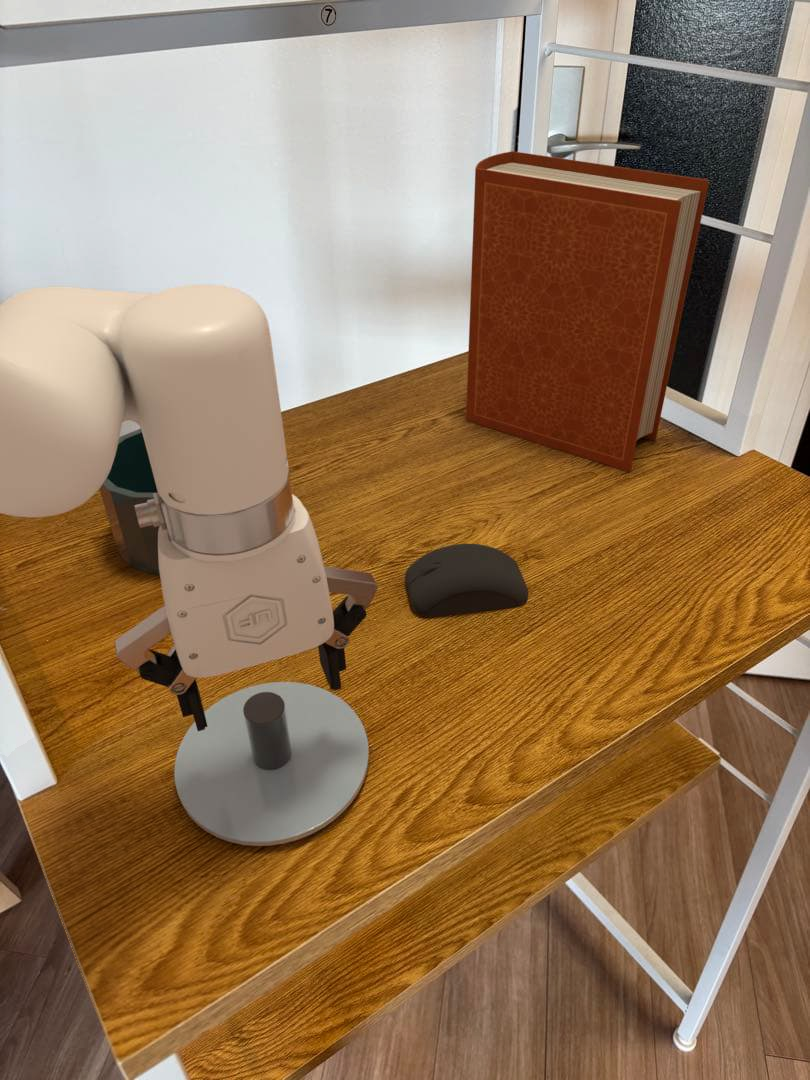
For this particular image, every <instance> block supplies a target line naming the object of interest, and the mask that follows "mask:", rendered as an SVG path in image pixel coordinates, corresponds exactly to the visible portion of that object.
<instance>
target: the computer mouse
mask: <svg viewBox="0 0 810 1080" xmlns="http://www.w3.org/2000/svg"><path fill="white" fill-rule="evenodd" d="M404 581H405V585H406V589H407V593H408V597H409V600H410V605H411V608H412V609H413V611H414V612H415V613H416V614H418V615H419V616H422V617H424V618H438V617H446V616H455V615H460V614H468V613H476V612H485V611H492V610H494V611H495V610H500V609H510V608H516V607H521V606H523V605H524V604H526V603H527V602H528V598H529V589H528V586H527V583H526V580H525V578H524V576H523V574H522V572H521V569H520V567H519V564H518V563H517V561H516V560H515V559H514V558H513V557H512V556H511V555H509V554H507V553H505V552H504V551H502V550H499V549H497V548H495V547H492V546H488V545H484V544H480V543H456V544H451V545H445V546H442V547H440V548H436V549H434V550H431V551H429V552H428V553H426V554H423V555H422V556H421V557H419V558H418V559H416V561H414V562H412V564H411V565H409V566H408V568H407V569H406V571H405V574H404Z"/></svg>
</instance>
